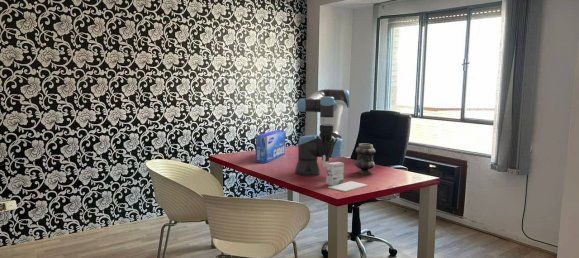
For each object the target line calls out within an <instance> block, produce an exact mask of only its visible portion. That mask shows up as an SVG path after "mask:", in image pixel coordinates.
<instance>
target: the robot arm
mask: <svg viewBox="0 0 579 258" xmlns="http://www.w3.org/2000/svg"><path fill="white" fill-rule="evenodd" d="M350 105H351V103H350V91H349V90H348V89H327V88H326V89H320V90H317V91H315V92H313V93H312V94H311V95H310V96H308V98H299V99H298V101H297V110H298V111H299V112H303V113H305V112H306V113H319V114H320V115H319V124H320V125H319V134H307V135H302V136H300V137H299V139H298V144H297V145H298V151H297V152H298V154H297V155H298V157H297V163H296V166H295V169H294V174H296V175H298V176H303V177H315V176H319V175H321V169H320V165H319V163H318V158H321V161H322V168H327V163H329V161H330V159H339V158H341V157H342V155H343V153H344V148H345V140H344V139H343V137H342V135H341V133H342V126H343V121H344V115H345V112H346V111H347V109H348V108H350V107H351V106H350Z"/></svg>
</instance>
